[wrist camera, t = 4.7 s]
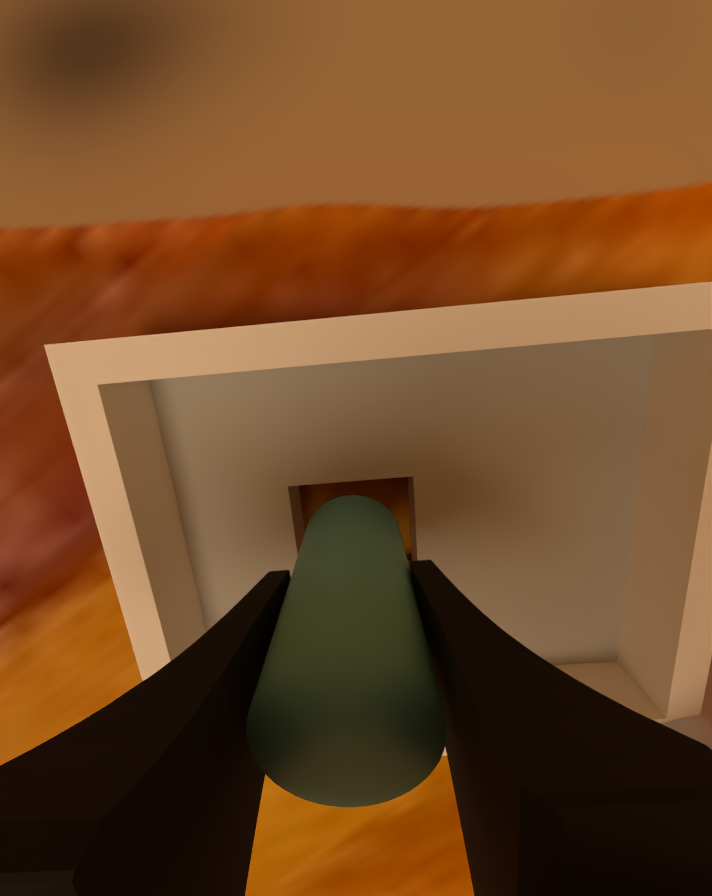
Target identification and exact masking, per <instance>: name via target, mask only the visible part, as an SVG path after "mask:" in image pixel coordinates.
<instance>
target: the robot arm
mask: <svg viewBox="0 0 712 896" xmlns="http://www.w3.org/2000/svg"><path fill="white" fill-rule="evenodd" d="M410 570H411V577H412V582H413V586H414V590H415V594H416V598H417V602H418V606H419V610H420V614H421V619H422V623H423V627H424V631H425V635H426V639H427V643H428V648H429V652H430V656H431V660H432V664H433V668H434V672H435V677H436V681H437V685H438V689H439V693H440V697H441V701H442V706H443V710H444V714H445V718H446V724H447V739H446V744H445V749H446V753H447V757H448V761H449V766H450V771H451V776H452V781H453V786H454V791H455V796H456V801H457V806H458V811H459V817H460V822H461V827H462V832H463V837H464V842H465V848H466V853H467V858H468V863H469V868H470V874H471V879H472V884H473V890H474V895H475V896H712V657H711V663H710V668H709V673H708V678H707V683H706V688H705V694H704V699H703V704H702V709H701V714H700V715H698V716H691V717H683V718H679V719H675V720H672V721H668V722H664V723H661V724H660V723H658V722H656V721H654V720H652V719H650V718H648V717H646V716H643V715H641V714H639V713H637V712H635V711H633V710H631V709H629V708H627V707H625V706H624V705H622V704H620V703H618V702H616V701H614V700H612V699H611V698H609V697H607V696H605V695H603V694H601V693H599V692H597V691H596V690H594V689H592V688H590V687H589V686H587V685H585V684H583V683H582V682H580V681H578V680H576V679H575V678H573V677H571V676H570V675H568V674H567V673H565V672H563V671H562V670H560V669H559V668H557V667H555V666H554V665H552V664H551V663H549V662H547V661H546V660H544V659H543V658H541V657H540V656H538V655H537V654H535V653H534V652H532V651H531V650H529V649H528V648H527V647H525V646H524V645H523V644H521V643H520V642H518V641H517V640H516V639H514V638H513V637H512V636H510V635H509V634H508V633H506V632H505V631H504V630H502V629H501V628H500V627H499V626H498V625H496V624H495V623H494V622H493V621H492V620H491V619H489V618H488V617H487V616H486V615H485V614H484V613H483V612H481V611H480V610H479V609H478V608H477V607H476V606H475V605H474V604H473V603H472V602H471V601H470V600H469V599H468V598H467V597H466V596H465V595H464V594H463V593H462V592H460V590H459V589H458V588H457V587H456V586H455V585H454V584H453V583H452V582H451V581H450V580H449V579H448V578H447V577H446V576H445V575H444V573H443V572H442V571H441V570H440V569H439V568H438V567H437V566H436V564H435V563H434V562H433V561H432V560H417V561H410ZM290 579H291V577H290V571H289V570H280V571H269V572H268V573H267V574H266V575H265V576H264V577H263V578H262V579H261V580H260V581H259V582H258V583H257V584H256V585H255V586H254V587H253V588H252V589H251V590H250V591H249V592H248V593H247V594H246V595H245V596H244V597H243V598H242V599H241V600H240V601H239V602H238V603H237V604H236V605H235V606H234V607H233V608H232V609H231V610H230V611H229V612H228V613H227V614H226V615H225V616H223V617H222V618H221V619H220V620H219V621H218V622H217V623H216V624H214V625H213V626H212V627H211V628H210V629H209V630H208V631H207V632H206V633H204V634H203V635H202V636H201V637H200V638H199V639H198V640H197V641H195V642H194V643H193V644H192V645H191V646H189V647H188V648H187V649H186V650H184V651H183V652H182V653H181V654H179V655H178V656H177V657H176V658H174V659H173V660H172V661H170V662H169V663H168V664H166V665H165V666H164V667H162V668H161V669H160V670H158V671H157V672H156V673H154V674H153V675H151V676H150V677H149V678H147V679H146V680H144V681H143V682H141V683H140V684H138V685H137V686H135V687H134V688H132V689H131V690H129V691H128V692H126V693H125V694H123V695H122V696H120V697H119V698H117V699H116V700H114V701H113V702H112V703H110V704H108V705H107V706H105V707H104V708H102V709H100V710H99V711H97V712H96V713H94V714H92V715H91V716H89V717H87V718H86V719H84V720H82V721H81V722H79V723H77V724H76V725H74V726H72V727H70V728H69V729H67V730H65V731H64V732H62V733H60V734H58V735H57V736H55V737H53V738H51V739H50V740H48V741H46V742H44V743H42V744H41V745H39V746H37V747H35V748H33V749H31V750H30V751H28V752H26V753H24V754H22V755H20V756H18V757H16V758H14V759H12V760H10V761H8V762H7V763H5V764H3V765H1V766H0V896H245V891H246V884H247V878H248V871H249V865H250V859H251V853H252V847H253V841H254V835H255V829H256V822H257V817H258V811H259V805H260V800H261V794H262V788H263V783H264V777H265V773H264V772H263V771H262V769H261V768H260V767H259V765H258V764H257V762H256V761H255V759H254V757H253V755H252V753H251V750H250V747H249V744H248V740H247V732H246V727H247V717H248V713H249V709H250V706H251V703H252V700H253V696H254V693H255V690H256V687H257V684H258V681H259V677H260V674H261V671H262V668H263V665H264V661H265V658H266V655H267V652H268V649H269V646H270V642H271V639H272V636H273V633H274V630H275V627H276V623H277V620H278V617H279V614H280V611H281V607H282V604H283V601H284V598H285V595H286V592H287V588H288V585H289V582H290Z"/></svg>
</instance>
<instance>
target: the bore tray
mask: <svg viewBox="0 0 712 896" xmlns="http://www.w3.org/2000/svg"><path fill="white" fill-rule="evenodd" d="M44 347H45V350H46V354H47V357H48V360H49V364H50V367H51V371H52V374H53V377H54V381H55V384H56V388H57V391H58V394H59V398H60V401H61V405H62V408H63V411H64V415H65V418H66V422H67V425H68V429H69V432H70V435H71V439H72V442H73V446H74V449H75V452H76V456H77V459H78V463H79V466H80V469H81V473H82V476H83V480H84V483H85V486H86V490H87V493H88V497H89V500H90V504H91V507H92V510H93V514H94V517H95V521H96V524H97V527H98V531H99V534H100V538H101V541H102V544H103V548H104V551H105V555H106V558H107V562H108V565H109V568H110V572H111V575H112V579H113V582H114V585H115V589H116V592H117V596H118V599H119V602H120V606H121V609H122V613H123V616H124V619H125V623H126V626H127V630H128V633H129V637H130V640H131V643H132V647H133V650H134V654H135V657H136V660H137V664H138V667H139V671H140V674H141V677H142V681H144V680H146V679H147V678H149V677H150V676H151V675H153V674H154V673H156V672H157V671H158V670H160V669H161V668H162V667H164V666H165V665H166V664H168V663H169V662H170V661H172V660H173V659H174V658H176V657H177V656H178V655H179V654H181V653H182V652H183V651H184V650H186V649H187V648H188V647H189V646H191V645H192V644H193V643H194V642H195V641H197V640H198V639H199V638H200V637H201V636H202V635H203V634H204V633H206V632H207V631H208V630H209V629H210V628H211V627H212V626H213V625H214V624H216V623H217V622H218V621H219V620H220V619H221V618H222V617H223V616H225V615H226V614H227V613H228V612H229V611H230V610H231V609H232V608H233V607H234V606H235V605H236V604H237V603H238V602H239V601H240V600H241V599H242V598H243V597H244V596H245V595H246V594H247V593H248V592H249V591H250V590H251V589H252V588H253V587H254V586H255V585H256V584H257V583H258V582H259V581H260V580H261V579H262V578H263V577H264V576H265V575H266V574H267V573H268V572H269V571H280V570H289V571H290V577H291V576H292V573H293V569H294V566H295V563H296V560H297V557H298V553H299V550H300V547H301V544H302V541H303V538H304V534H305V526H304V519H303V511H302V504H301V497H300V489H299V485H311V484H324V483H336V482H349V481H361V480H374V479H386V478H399V477H407V481H408V499H409V517H410V536H411V554H412V560H407V561H408V565H409V569H410V561H417V560H432V561H433V562H434V563H435V564H436V566H437V567H438V568H439V569H440V570H441V571H442V572H443V573H444V575H445V576H446V577H447V578H448V579H449V580H450V581H451V582H452V583H453V584H454V585H455V586H456V587H457V588H458V589H459V590H460V592H462V593H463V594H464V595H465V596H466V597H467V598H468V599H469V600H470V601H471V602H472V603H473V604H474V605H475V606H476V607H477V608H478V609H479V610H480V611H481V612H483V613H484V614H485V615H486V616H487V617H488V618H489V619H491V620H492V621H493V622H494V623H495V624H496V625H498V626H499V627H500V628H501V629H502V630H504V631H505V632H506V633H508V634H509V635H510V636H512V637H513V638H514V639H516V640H517V641H518V642H520V643H521V644H523V645H524V646H525V647H527V648H528V649H529V650H531V651H532V652H534V653H535V654H537V655H538V656H540V657H541V658H543V659H544V660H546V661H547V662H549V663H551V664H552V665H554V666H555V667H557V668H559V669H560V670H562V671H563V672H565V673H567V674H568V675H570V676H571V677H573V678H575V679H576V680H578V681H580V682H582V683H583V684H585V685H587V686H589V687H590V688H592V689H594V690H596V691H597V692H599V693H601V694H603V695H605V696H607V697H609V698H611V699H612V700H614V701H616V702H618V703H620V704H622V705H624V706H625V707H627V708H629V709H631V710H633V711H635V712H637V713H639V714H641V715H643V716H646V717H648V718H650V719H652V720H654V721H656V722H658V723H660V724H661V723H664V722H668V721H672V720H675V719H679V718H683V717H691V716H698V715H700V714H701V709H702V704H703V699H704V694H705V688H706V683H707V678H708V673H709V668H710V663H711V657H712V282H702V283H691V284H681V285H670V286H660V287H649V288H639V289H628V290H618V291H607V292H597V293H586V294H576V295H565V296H554V297H544V298H533V299H523V300H512V301H502V302H491V303H481V304H470V305H460V306H449V307H439V308H428V309H418V310H407V311H397V312H386V313H376V314H365V315H354V316H344V317H333V318H323V319H312V320H302V321H291V322H281V323H270V324H260V325H249V326H239V327H228V328H218V329H207V330H197V331H186V332H176V333H165V334H154V335H144V336H133V337H123V338H112V339H102V340H91V341H81V342H70V343H60V344H49V345H44ZM410 573H411V570H410ZM442 756H447V753H446V749H445V748H444V752H443V754H442Z"/></svg>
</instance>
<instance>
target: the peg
mask: <svg viewBox="0 0 712 896" xmlns="http://www.w3.org/2000/svg"><path fill="white" fill-rule="evenodd" d="M246 732H247V740H248V744H249V747H250V750H251V753H252V755H253V757H254V759H255V761H256V762H257V764H258V765H259V767H260V768H261V769H262V771H263V772H264V773H265V774H266V775H267V776H268V777H269V778H270V779H271V780H272V781H273V782H275V783H276V784H277V785H279V786H280V787H281V788H283V789H284V790H286V791H288V792H290V793H292V794H293V795H295V796H298V797H300V798H303V799H305V800H308V801H311V802H314V803H318V804H323V805H328V806H337V807H360V806H369V805H374V804H379V803H382V802H386V801H389V800H392V799H394V798H397V797H399V796H401V795H403V794H405V793H407V792H409V791H410V790H412V789H413V788H415V787H416V786H418V785H419V784H420V783H421V782H422V781H424V780H425V779H426V778H427V777H428V776H429V775H430V773H431V772H432V771H433V770H434V769H435V767H436V765H437V764H438V762H439V761H440V759H441V756H442V754H443V752H444V748H445V744H446V739H447V724H446V718H445V714H444V710H443V706H442V701H441V697H440V693H439V689H438V685H437V681H436V677H435V672H434V668H433V664H432V660H431V656H430V652H429V648H428V643H427V639H426V635H425V631H424V627H423V623H422V619H421V614H420V610H419V606H418V602H417V598H416V594H415V590H414V586H413V582H412V577H411V573H410V569H409V565H408V561H407V556H406V552H405V548H404V544H403V540H402V536H401V532H400V528H399V525H398V522H397V520H396V518H395V517H394V515H393V514H392V513H391V512H390V510H389V509H388V508H386V507H385V506H384V505H383V504H381V503H380V502H378V501H376V500H374V499H371V498H369V497H365V496H359V495H347V496H341V497H337V498H334V499H332V500H330V501H328V502H326V503H325V504H323V505H322V506H320V507H319V508H318V509H317V510H316V511H315V513H314V514H313V515H312V517H311V519H310V520H309V523H308V525H307V528H306V531H305V534H304V538H303V541H302V544H301V547H300V550H299V553H298V557H297V560H296V563H295V566H294V569H293V573H292V576H291V579H290V582H289V585H288V588H287V592H286V595H285V598H284V601H283V604H282V607H281V611H280V614H279V617H278V620H277V623H276V627H275V630H274V633H273V636H272V639H271V642H270V646H269V649H268V652H267V655H266V658H265V661H264V665H263V668H262V671H261V674H260V677H259V681H258V684H257V687H256V690H255V693H254V696H253V700H252V703H251V706H250V709H249V713H248V717H247V727H246Z"/></svg>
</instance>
